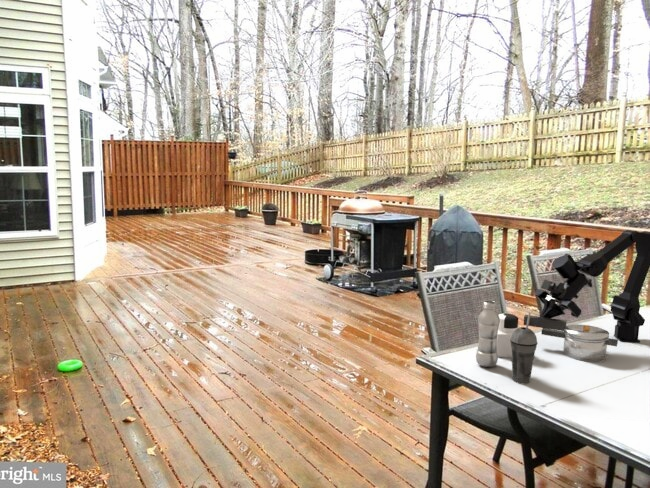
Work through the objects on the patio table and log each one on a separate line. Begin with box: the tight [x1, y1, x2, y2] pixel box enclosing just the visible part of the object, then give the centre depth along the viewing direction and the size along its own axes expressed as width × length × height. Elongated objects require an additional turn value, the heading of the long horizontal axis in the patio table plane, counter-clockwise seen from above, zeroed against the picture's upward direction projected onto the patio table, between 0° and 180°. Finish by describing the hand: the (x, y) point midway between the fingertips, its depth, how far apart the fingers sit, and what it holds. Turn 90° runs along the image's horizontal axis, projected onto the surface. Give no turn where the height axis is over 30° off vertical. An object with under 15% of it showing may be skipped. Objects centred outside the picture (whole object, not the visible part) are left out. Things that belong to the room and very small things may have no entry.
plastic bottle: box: [475, 300, 500, 368], centre depth 156 cm, size 6×7×20 cm
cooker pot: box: [540, 328, 619, 363], centre depth 168 cm, size 22×13×7 cm, turn 57°
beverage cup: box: [510, 311, 538, 385], centre depth 145 cm, size 7×7×20 cm
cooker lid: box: [523, 314, 610, 341], centre depth 169 cm, size 26×13×3 cm, turn 60°
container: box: [497, 313, 519, 358], centre depth 167 cm, size 8×8×13 cm
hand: (540, 320), depth 175 cm, fingers closed
